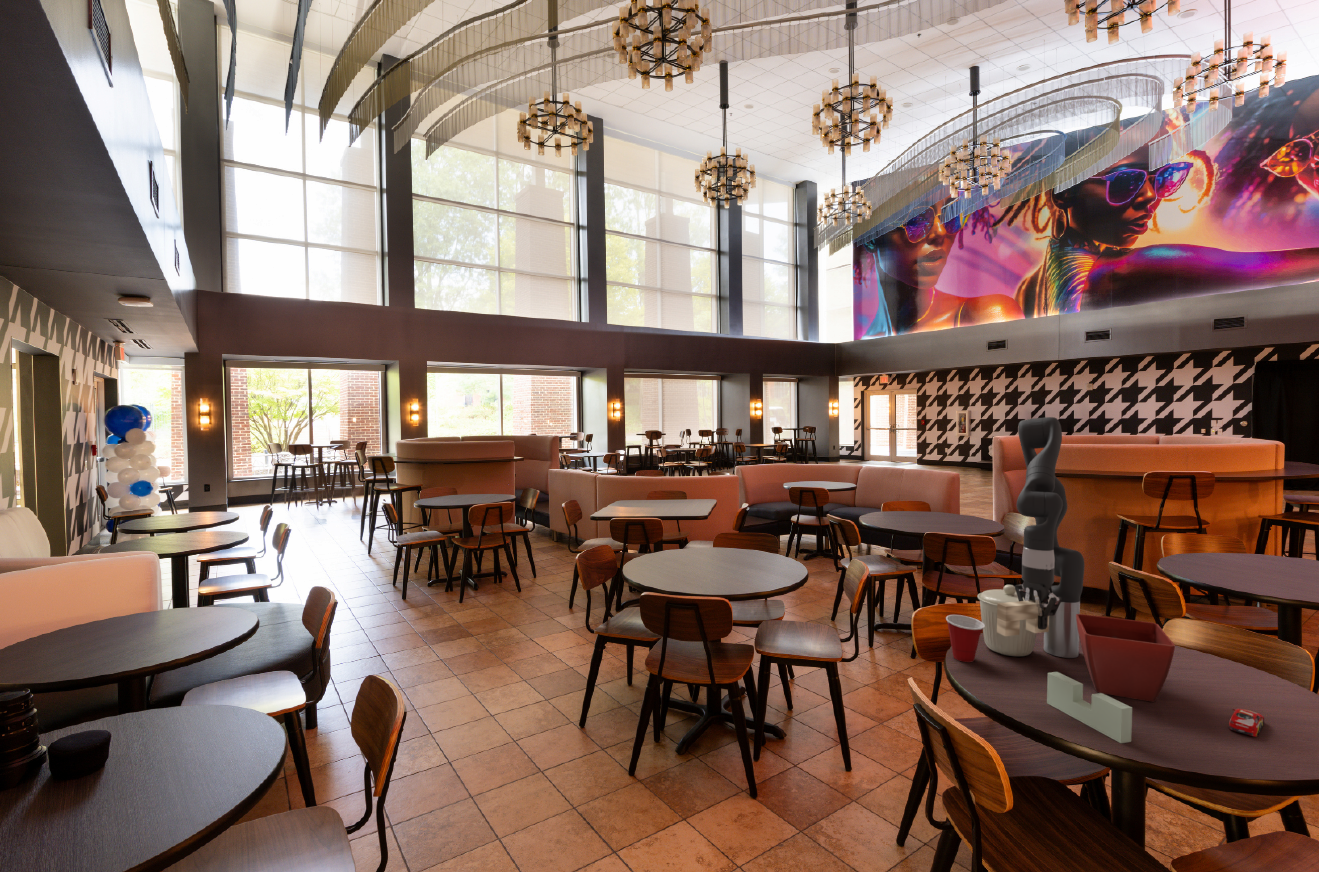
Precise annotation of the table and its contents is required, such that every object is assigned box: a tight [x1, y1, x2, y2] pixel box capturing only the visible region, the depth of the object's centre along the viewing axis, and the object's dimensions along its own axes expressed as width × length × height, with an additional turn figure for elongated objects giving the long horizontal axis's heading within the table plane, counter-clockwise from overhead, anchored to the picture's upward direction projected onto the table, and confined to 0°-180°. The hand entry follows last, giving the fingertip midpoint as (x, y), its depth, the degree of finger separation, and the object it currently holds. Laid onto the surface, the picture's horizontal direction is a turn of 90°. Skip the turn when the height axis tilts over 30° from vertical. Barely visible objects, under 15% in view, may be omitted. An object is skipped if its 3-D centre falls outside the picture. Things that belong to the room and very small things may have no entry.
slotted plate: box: [997, 600, 1049, 636], centre depth 167 cm, size 14×3×8 cm, turn 103°
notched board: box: [1046, 671, 1133, 744], centre depth 150 cm, size 20×3×8 cm, turn 13°
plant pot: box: [1076, 613, 1176, 703], centre depth 168 cm, size 19×19×17 cm
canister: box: [977, 584, 1038, 657], centre depth 195 cm, size 18×18×21 cm
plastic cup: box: [945, 614, 985, 663], centre depth 189 cm, size 11×11×12 cm
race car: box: [1228, 708, 1265, 737], centre depth 148 cm, size 13×5×4 cm, turn 128°
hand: (1036, 626), depth 168 cm, fingers closed on slotted plate, 3 cm apart
